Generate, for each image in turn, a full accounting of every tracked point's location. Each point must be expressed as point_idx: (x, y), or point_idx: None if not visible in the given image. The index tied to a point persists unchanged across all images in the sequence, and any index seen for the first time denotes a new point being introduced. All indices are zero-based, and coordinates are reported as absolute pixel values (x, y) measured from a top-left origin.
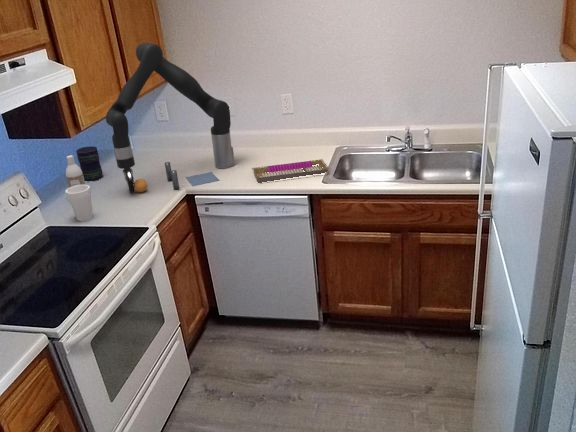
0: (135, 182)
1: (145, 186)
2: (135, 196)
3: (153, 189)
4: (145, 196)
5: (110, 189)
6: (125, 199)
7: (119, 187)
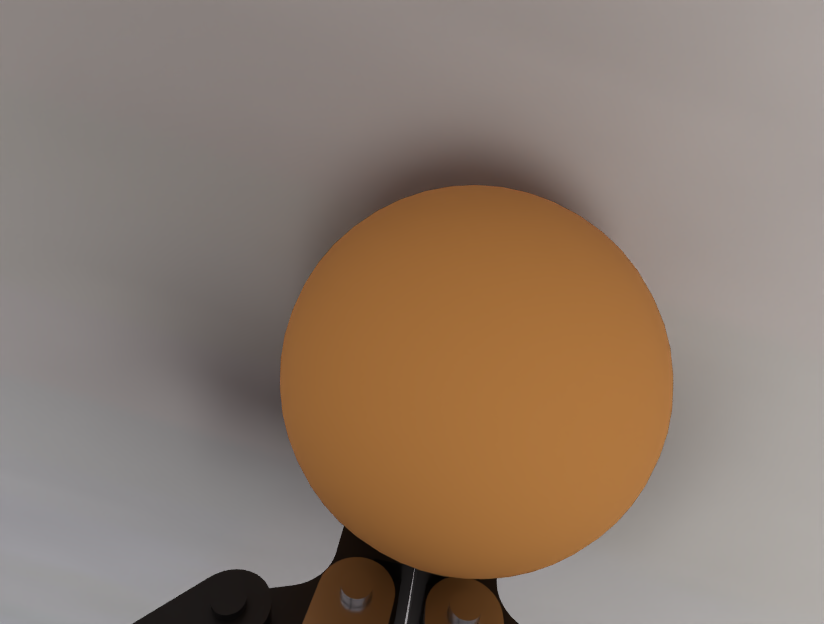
0: (483, 576)
1: (650, 293)
2: None
3: (539, 6)
4: (812, 323)
5: (66, 584)
6: (615, 591)
7: (35, 489)
